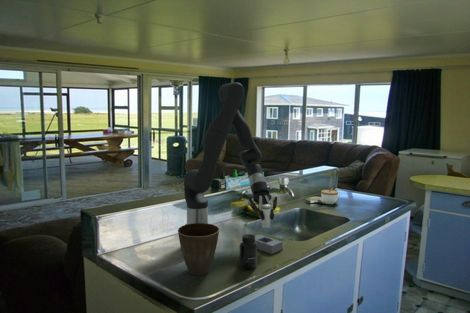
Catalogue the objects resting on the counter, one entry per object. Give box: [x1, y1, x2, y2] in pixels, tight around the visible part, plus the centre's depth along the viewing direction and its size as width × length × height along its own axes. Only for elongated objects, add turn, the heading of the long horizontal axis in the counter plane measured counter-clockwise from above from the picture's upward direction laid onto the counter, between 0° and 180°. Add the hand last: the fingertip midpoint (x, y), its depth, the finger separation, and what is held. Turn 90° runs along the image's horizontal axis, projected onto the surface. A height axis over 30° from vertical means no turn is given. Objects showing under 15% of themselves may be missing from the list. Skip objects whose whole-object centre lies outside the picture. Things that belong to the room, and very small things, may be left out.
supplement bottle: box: [238, 233, 258, 271], centre depth 137 cm, size 7×7×12 cm
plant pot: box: [177, 223, 220, 276], centre depth 132 cm, size 15×15×16 cm
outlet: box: [254, 234, 283, 255], centre depth 156 cm, size 7×13×4 cm, turn 46°
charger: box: [261, 204, 272, 229], centre depth 155 cm, size 4×4×10 cm
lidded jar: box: [320, 188, 339, 205], centre depth 235 cm, size 11×11×9 cm
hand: (267, 219), depth 153 cm, fingers closed on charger, 3 cm apart
